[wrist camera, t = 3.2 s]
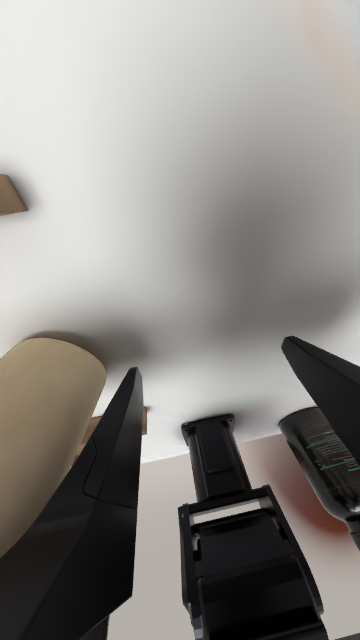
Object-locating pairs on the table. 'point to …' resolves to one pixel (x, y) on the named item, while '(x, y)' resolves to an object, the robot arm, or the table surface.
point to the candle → (41, 425)
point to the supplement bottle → (326, 465)
